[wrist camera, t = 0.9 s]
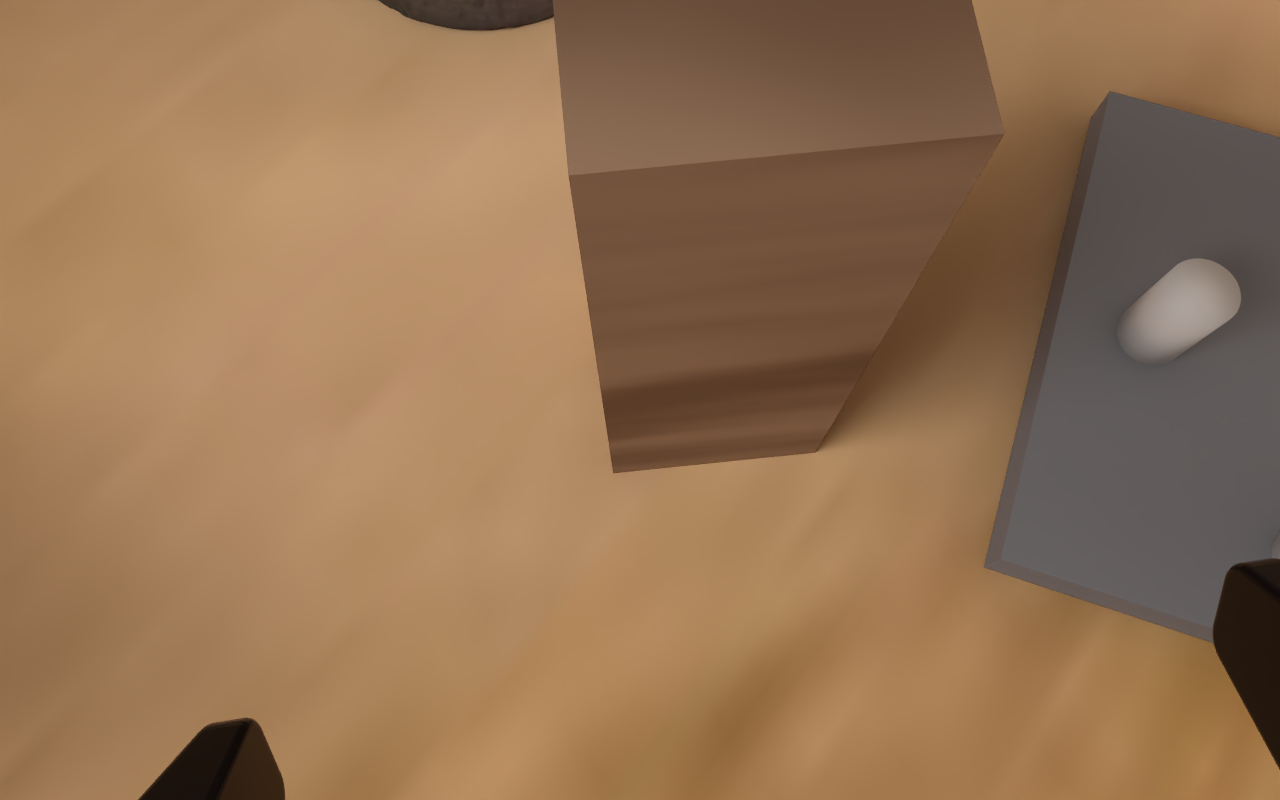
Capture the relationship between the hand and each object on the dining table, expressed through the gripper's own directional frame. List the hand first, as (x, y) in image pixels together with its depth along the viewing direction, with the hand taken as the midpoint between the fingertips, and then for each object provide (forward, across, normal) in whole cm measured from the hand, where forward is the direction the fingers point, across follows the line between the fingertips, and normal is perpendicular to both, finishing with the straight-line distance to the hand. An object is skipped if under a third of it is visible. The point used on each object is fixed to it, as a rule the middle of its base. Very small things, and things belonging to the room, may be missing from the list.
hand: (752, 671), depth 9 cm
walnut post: (+16, -2, +6) cm, 17 cm away
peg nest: (+13, -16, +8) cm, 22 cm away
